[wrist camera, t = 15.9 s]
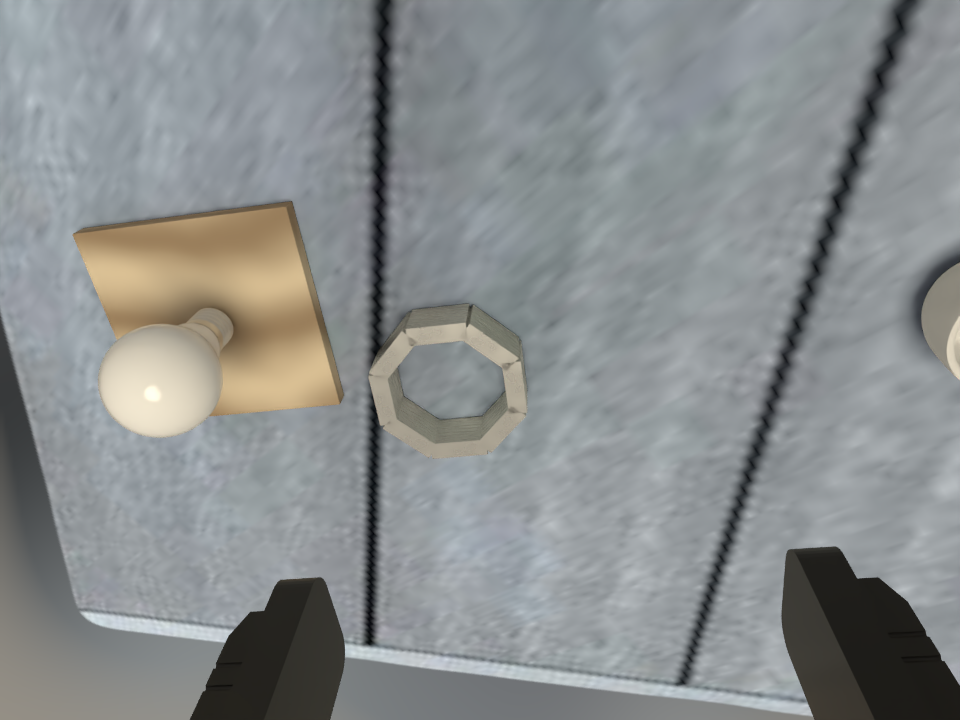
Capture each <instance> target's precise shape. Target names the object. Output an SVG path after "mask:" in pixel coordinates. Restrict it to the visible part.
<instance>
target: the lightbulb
mask: <svg viewBox="0 0 960 720" xmlns="http://www.w3.org/2000/svg"><path fill="white" fill-rule="evenodd" d="M233 331H234V330H233V324H232V322H231V320H230V319H229V317H228V316H227V315H226V314H225V313H223V312H222V311H220V310H218V309H215V308H204V309H201V310H199V311H198V312H196V313H195V315H194V316H192V318H190V319H189V320H188V321H187V322H186V323H183V324H180V325H172V324H151V325H146V326H142V327H139V328H136V329H134V330H132V331H130V332H128V333H126V334H125V335H123V336H122V337H121V338H119V339H118V340H117V341H116V342H115V343H114V344H113V345H112V346H111V347H110V348H109V350H108V351H107V353H106V354H105V356H104V358H103V360H102V363H101V365H100V369H99V374H98V389H99V394H100V397H101V400H102V403H103V405H104V407H105V408H106V410H107V411H108V413H109V414H110V415H111V417H112V418H113V419H114V420H115V421H116V422H118V423H119V424H120V425H121V426H123V427H124V428H126V429H128V430H130V431H132V432H134V433H136V434H139V435H143V436H147V437H155V438H164V437H172V436H177V435H180V434H183V433H186V432H188V431H190V430H192V429H194V428H195V427H197V426H198V425H200V424H201V423H202V422H204V421H205V420H206V419H207V418H208V417H209V416H210V414H211V413H212V412H213V410H214V409H215V407H216V405H217V403H218V401H219V399H220V396H221V393H222V388H223V372H222V367H221V363H220V361H219V357H220V351H221V350H222V349H223V347H224V346H225V345H226V344H227V343H228V342H229V340H230V339H231V338H232V336H233Z"/></svg>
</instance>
